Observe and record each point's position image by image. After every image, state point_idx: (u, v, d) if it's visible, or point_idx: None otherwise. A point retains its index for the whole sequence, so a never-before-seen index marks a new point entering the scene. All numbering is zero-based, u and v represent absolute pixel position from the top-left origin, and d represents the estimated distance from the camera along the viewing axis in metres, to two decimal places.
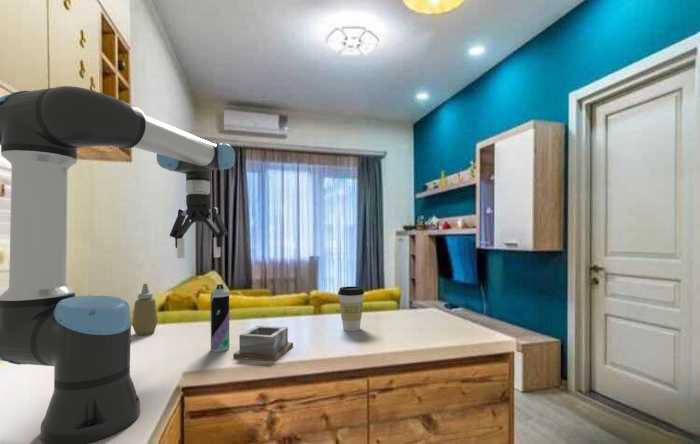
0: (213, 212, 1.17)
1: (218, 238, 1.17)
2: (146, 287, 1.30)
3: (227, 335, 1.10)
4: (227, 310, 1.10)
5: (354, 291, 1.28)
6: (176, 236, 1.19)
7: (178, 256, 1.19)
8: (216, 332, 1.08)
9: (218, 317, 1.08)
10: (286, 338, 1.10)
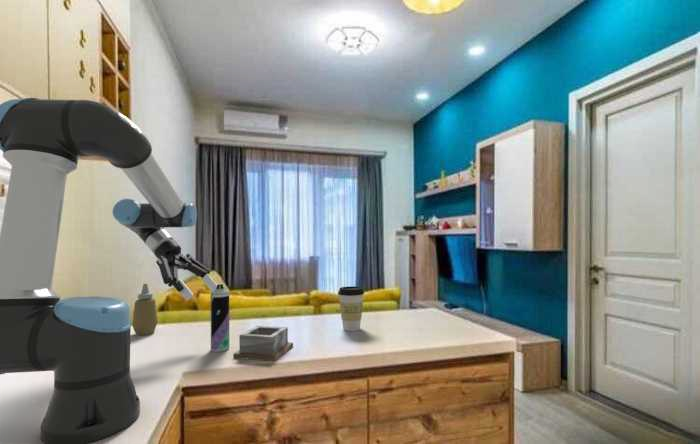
0: (191, 256, 1.22)
1: None
2: (146, 287, 1.30)
3: (227, 335, 1.10)
4: (227, 310, 1.10)
5: (354, 291, 1.28)
6: (176, 277, 1.07)
7: (192, 293, 1.07)
8: (216, 332, 1.08)
9: (218, 317, 1.08)
10: (286, 338, 1.10)
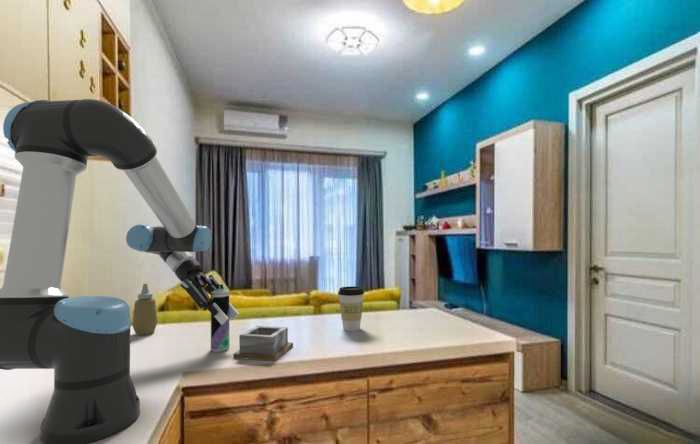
0: (213, 278, 1.18)
1: None
2: (146, 287, 1.30)
3: (227, 335, 1.10)
4: (227, 310, 1.10)
5: (354, 291, 1.28)
6: (210, 301, 1.07)
7: (226, 317, 1.07)
8: (216, 332, 1.08)
9: None
10: (286, 338, 1.10)
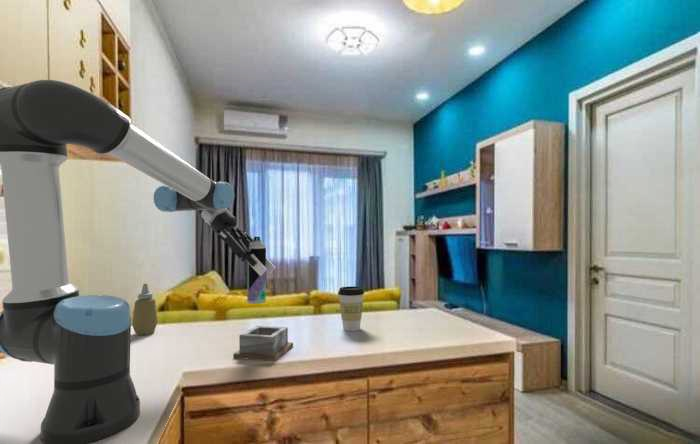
0: (247, 233, 1.16)
1: None
2: (146, 287, 1.30)
3: (264, 288, 1.08)
4: (264, 262, 1.08)
5: (354, 291, 1.28)
6: (249, 252, 1.06)
7: (265, 268, 1.05)
8: (254, 284, 1.06)
9: None
10: (286, 338, 1.10)
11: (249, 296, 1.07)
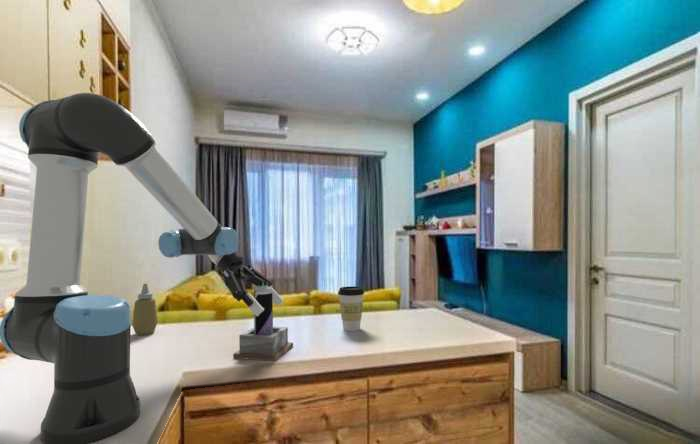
0: (252, 268, 1.16)
1: (270, 287, 1.15)
2: (146, 287, 1.30)
3: (271, 333, 1.06)
4: (271, 308, 1.06)
5: (354, 291, 1.28)
6: (245, 291, 1.01)
7: (262, 308, 1.00)
8: (261, 330, 1.04)
9: (262, 315, 1.05)
10: (286, 338, 1.10)
11: None
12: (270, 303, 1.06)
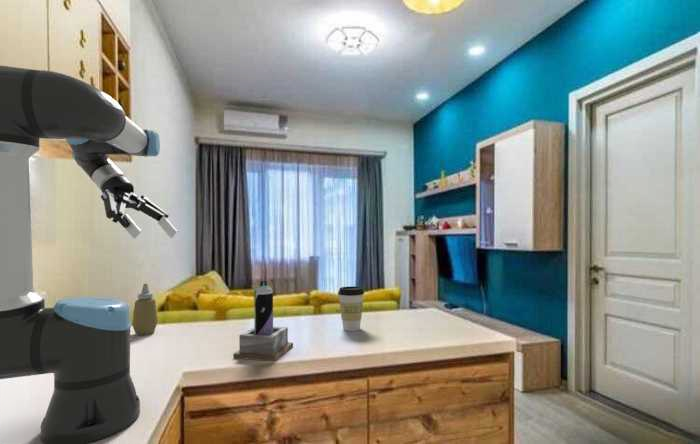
0: (146, 198, 1.09)
1: None
2: (146, 287, 1.30)
3: (271, 333, 1.06)
4: (271, 308, 1.06)
5: (354, 291, 1.28)
6: (122, 212, 0.94)
7: (139, 229, 0.94)
8: (261, 330, 1.04)
9: (262, 315, 1.05)
10: (286, 338, 1.10)
11: None
12: (270, 303, 1.06)
